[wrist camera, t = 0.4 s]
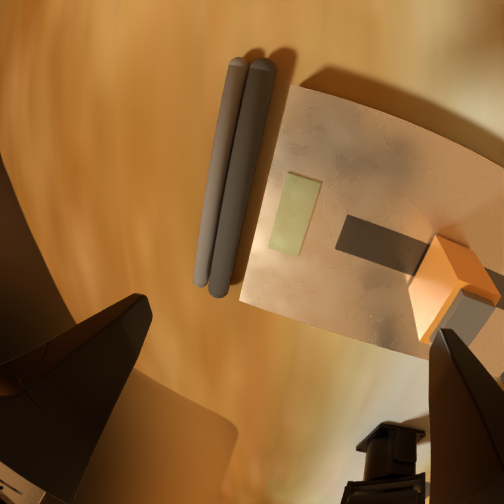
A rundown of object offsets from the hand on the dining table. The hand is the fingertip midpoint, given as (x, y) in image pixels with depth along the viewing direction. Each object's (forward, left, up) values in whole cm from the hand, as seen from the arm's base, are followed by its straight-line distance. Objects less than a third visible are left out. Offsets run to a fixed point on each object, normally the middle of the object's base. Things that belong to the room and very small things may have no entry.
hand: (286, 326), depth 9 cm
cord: (-1, +5, -13) cm, 14 cm away
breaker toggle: (-1, -9, -11) cm, 14 cm away
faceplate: (-1, -9, -13) cm, 16 cm away
